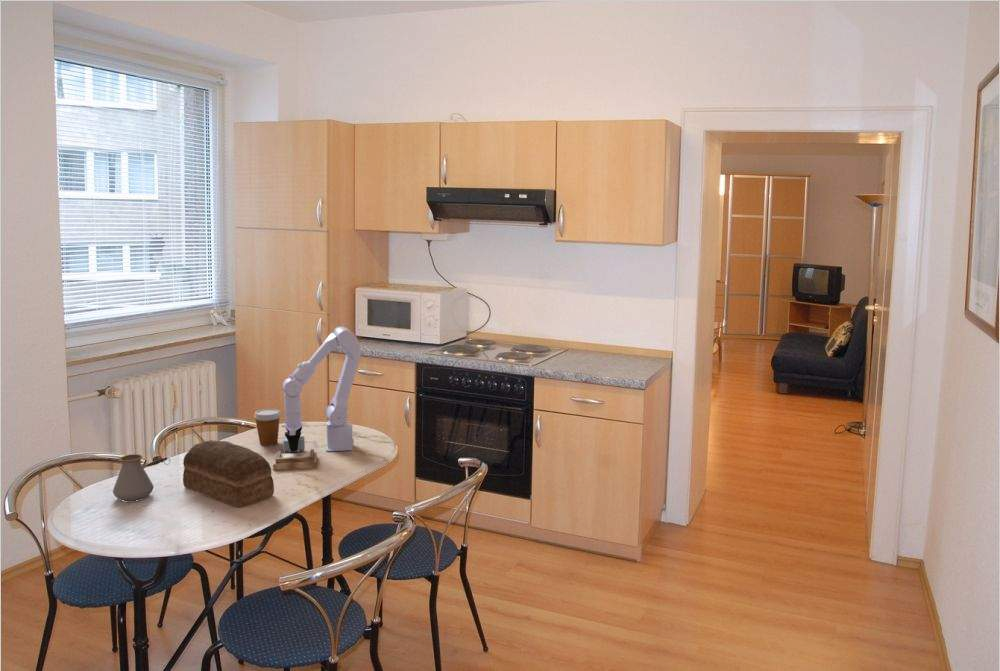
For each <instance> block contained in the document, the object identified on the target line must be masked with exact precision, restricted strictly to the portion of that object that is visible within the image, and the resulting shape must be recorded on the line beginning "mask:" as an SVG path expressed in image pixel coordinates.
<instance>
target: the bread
mask: <svg viewBox="0 0 1000 671" xmlns="http://www.w3.org/2000/svg"><path fill="white" fill-rule="evenodd" d="M182 482H183V486H184V488H186V489H188V490H191V491H193V492H195V493H198V494H201V495H203V496H204V495H205V496H207V497H210V498H212V499H213V500H216V501H218V502H223V503H224V504H227V505H230V506H233V507H236V508H243V507H246V506H250V505H253V504H255V503H259V502H261V501H264V500H266V499H269V498H271V497H272V496H273V495H274V494H275V486H274V485H275V484H274V479H273V477H272V468H271V465H270V463H269V461H267V460H266V458H265V457H264V456H263V455H262V454H260V453H257V452H255V451H253V450H251V449H250V448H248V447H245V446H242V445H239V444H235V443H233V442H230V441H226V440H225V441H224V440H211V439H210V440H206V441H202V442H199V443H197V444H194V445H193V446H192V447H191V448H190V449H189V450H188V451H187V452H186V454H185V455H184V457H183V474H182Z"/></svg>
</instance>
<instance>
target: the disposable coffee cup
mask: <svg viewBox="0 0 1000 671" xmlns="http://www.w3.org/2000/svg"><path fill="white" fill-rule="evenodd" d="M281 415H282V414H281V412H280V409H275V408H264V409H259V410H256V411H255V412H254V415H253V418H254V420H255V423H256V424H255V425H256V430H257V434H258V435H257V436H258V441H259V445H260V446H264V447H267V446H274V445H277V444H278V439H279V428H280V418H281Z"/></svg>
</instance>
